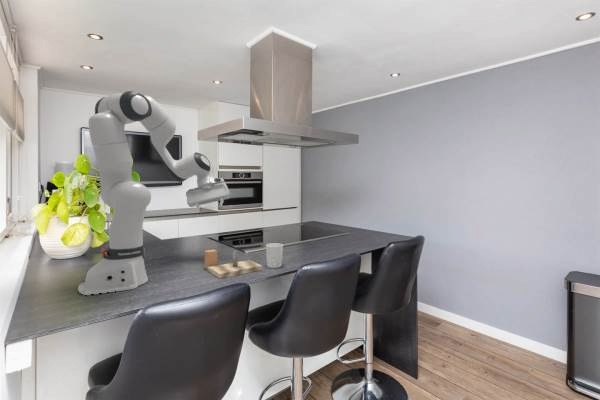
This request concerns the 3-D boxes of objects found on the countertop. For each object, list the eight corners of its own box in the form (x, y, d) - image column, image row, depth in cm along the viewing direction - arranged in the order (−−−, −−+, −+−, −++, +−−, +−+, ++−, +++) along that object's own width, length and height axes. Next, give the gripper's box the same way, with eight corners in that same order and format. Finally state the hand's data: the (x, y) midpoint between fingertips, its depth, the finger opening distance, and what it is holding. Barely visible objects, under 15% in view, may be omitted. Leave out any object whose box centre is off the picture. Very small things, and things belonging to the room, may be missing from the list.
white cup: (278, 269, 136) (279, 247, 135) (263, 267, 138) (263, 245, 137) (285, 264, 143) (285, 243, 142) (270, 263, 146) (270, 242, 145)
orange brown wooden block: (208, 270, 133) (208, 252, 132) (204, 268, 136) (204, 250, 136) (217, 268, 135) (217, 251, 135) (213, 266, 139) (213, 249, 138)
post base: (219, 278, 121) (219, 256, 121) (208, 271, 131) (207, 251, 130) (262, 270, 134) (262, 250, 133) (248, 264, 143) (248, 245, 143)
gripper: (183, 186, 144) (186, 211, 138) (226, 177, 147) (230, 201, 141) (187, 193, 150) (190, 217, 143) (228, 184, 153) (233, 207, 146)
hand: (210, 209), depth 142 cm, fingers open, 8 cm apart
